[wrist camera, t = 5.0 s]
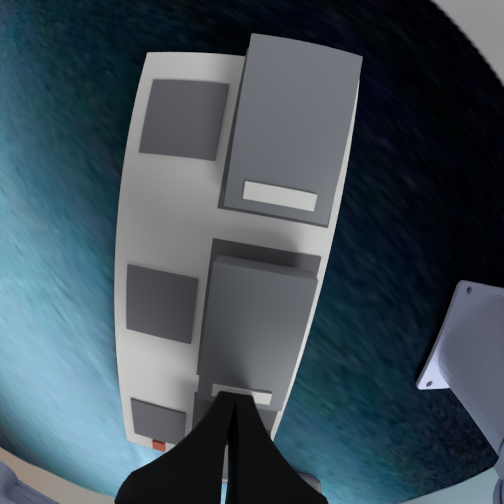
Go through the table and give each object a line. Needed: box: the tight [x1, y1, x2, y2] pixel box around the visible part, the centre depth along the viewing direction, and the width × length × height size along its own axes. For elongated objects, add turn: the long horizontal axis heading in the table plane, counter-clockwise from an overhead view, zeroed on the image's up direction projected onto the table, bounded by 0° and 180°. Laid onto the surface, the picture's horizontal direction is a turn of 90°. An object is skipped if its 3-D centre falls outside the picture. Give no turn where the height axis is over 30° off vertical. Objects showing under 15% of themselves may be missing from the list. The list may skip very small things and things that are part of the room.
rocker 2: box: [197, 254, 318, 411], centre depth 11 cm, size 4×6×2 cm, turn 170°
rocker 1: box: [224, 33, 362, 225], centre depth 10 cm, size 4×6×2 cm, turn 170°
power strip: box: [114, 48, 359, 452], centre depth 14 cm, size 9×23×3 cm, turn 170°
